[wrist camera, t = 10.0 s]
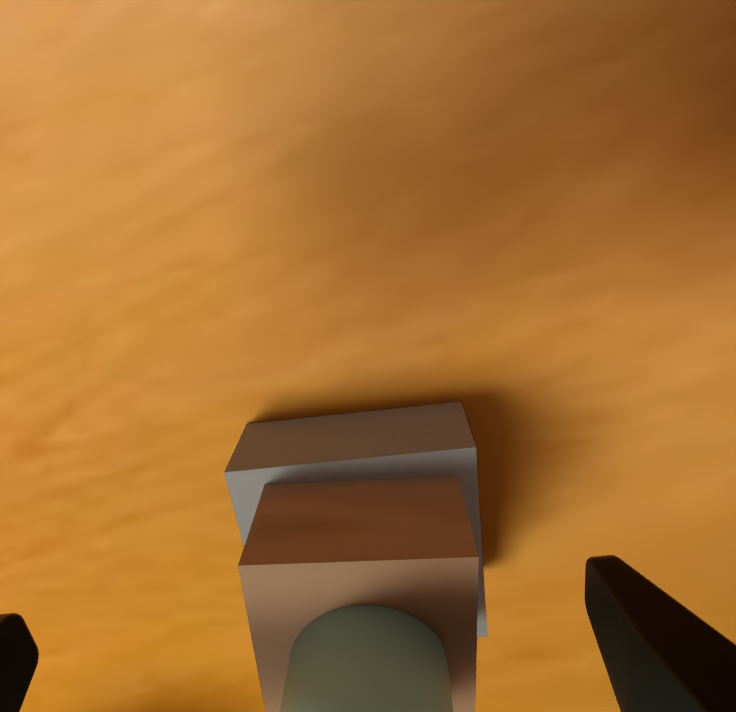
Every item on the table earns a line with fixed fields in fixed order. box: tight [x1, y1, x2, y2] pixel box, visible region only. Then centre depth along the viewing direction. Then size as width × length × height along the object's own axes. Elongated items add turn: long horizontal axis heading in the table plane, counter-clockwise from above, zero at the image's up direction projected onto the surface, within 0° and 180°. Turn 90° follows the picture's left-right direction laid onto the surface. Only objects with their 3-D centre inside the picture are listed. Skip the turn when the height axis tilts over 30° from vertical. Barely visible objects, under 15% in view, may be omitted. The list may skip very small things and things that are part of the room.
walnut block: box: [238, 477, 479, 712], centre depth 19 cm, size 7×7×4 cm
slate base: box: [224, 401, 487, 637], centre depth 22 cm, size 9×9×4 cm
